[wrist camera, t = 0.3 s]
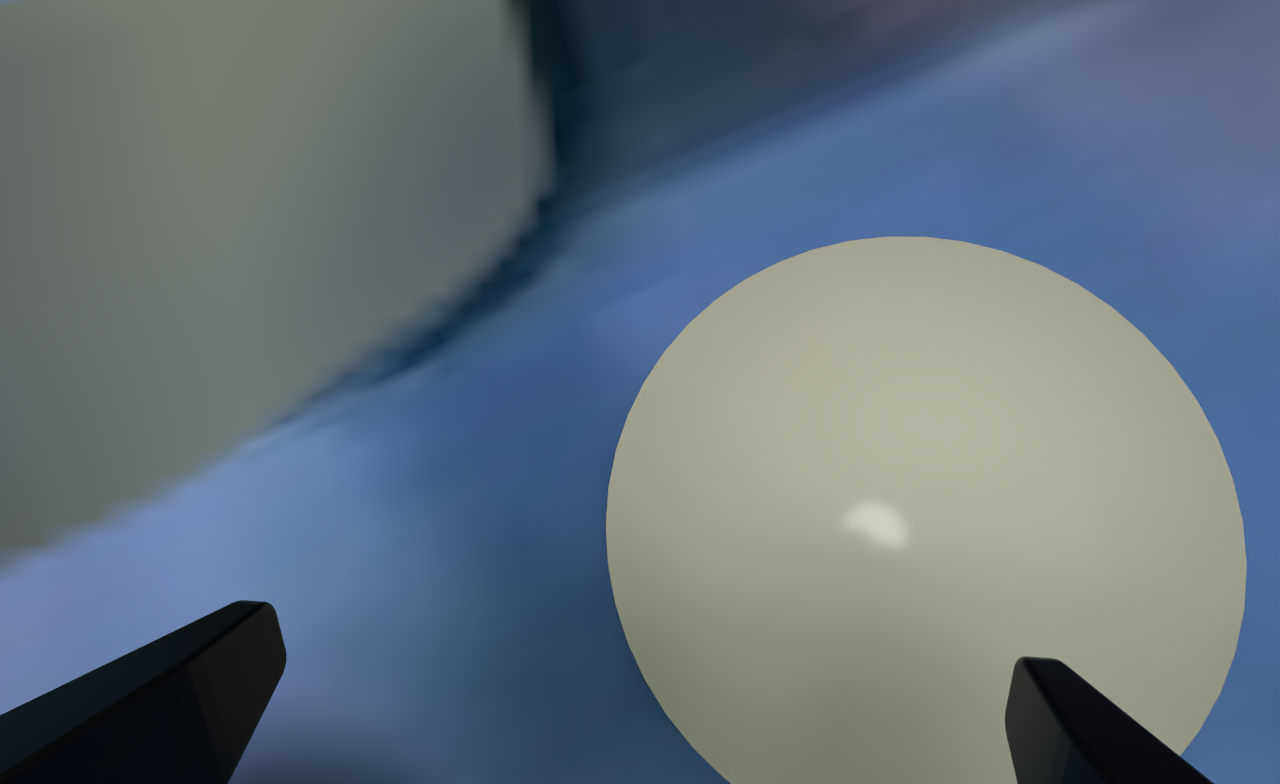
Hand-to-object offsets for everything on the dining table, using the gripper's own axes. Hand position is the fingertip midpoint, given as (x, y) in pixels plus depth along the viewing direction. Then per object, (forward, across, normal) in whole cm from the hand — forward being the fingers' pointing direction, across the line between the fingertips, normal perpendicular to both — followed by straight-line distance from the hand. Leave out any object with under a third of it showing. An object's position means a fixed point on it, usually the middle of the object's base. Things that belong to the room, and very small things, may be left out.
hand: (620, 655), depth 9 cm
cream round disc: (+14, -6, +6) cm, 16 cm away
